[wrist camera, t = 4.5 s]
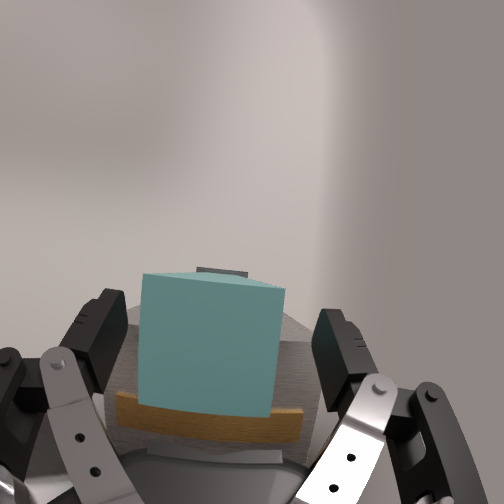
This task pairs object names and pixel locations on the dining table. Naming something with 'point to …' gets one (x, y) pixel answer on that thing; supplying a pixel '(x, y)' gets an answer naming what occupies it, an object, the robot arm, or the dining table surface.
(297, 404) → the tall grey box
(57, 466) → the dining table surface
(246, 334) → the teal tapered block
